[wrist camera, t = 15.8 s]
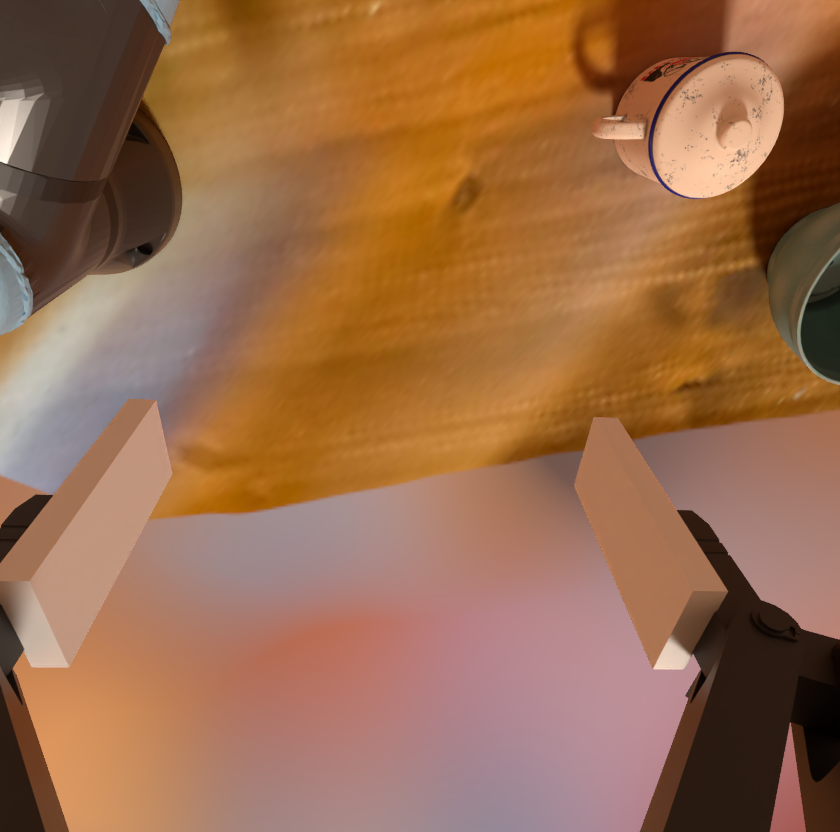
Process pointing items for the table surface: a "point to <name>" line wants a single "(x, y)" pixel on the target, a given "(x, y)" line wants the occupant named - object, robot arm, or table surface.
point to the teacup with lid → (698, 122)
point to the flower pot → (809, 291)
